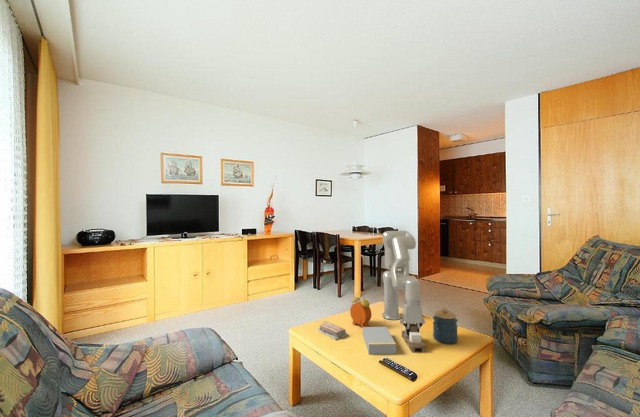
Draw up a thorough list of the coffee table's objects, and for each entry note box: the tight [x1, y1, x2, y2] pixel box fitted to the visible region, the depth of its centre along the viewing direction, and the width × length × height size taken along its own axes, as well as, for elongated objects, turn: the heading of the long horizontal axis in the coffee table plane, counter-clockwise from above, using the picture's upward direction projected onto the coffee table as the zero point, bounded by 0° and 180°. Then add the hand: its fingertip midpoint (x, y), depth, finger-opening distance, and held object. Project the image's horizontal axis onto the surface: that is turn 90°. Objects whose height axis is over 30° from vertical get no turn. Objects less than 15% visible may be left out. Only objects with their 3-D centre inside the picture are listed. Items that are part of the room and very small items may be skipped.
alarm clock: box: [349, 292, 372, 329], centre depth 188 cm, size 13×6×20 cm, turn 40°
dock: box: [362, 326, 397, 355], centre depth 162 cm, size 22×14×5 cm, turn 0°
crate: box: [409, 331, 422, 343], centre depth 158 cm, size 4×5×4 cm
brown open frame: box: [401, 323, 426, 353], centre depth 162 cm, size 19×7×10 cm, turn 0°
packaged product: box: [316, 321, 348, 341], centre depth 177 cm, size 18×5×10 cm
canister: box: [432, 307, 459, 345], centre depth 167 cm, size 13×13×18 cm
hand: (412, 334), depth 161 cm, fingers closed on brown open frame, 4 cm apart
